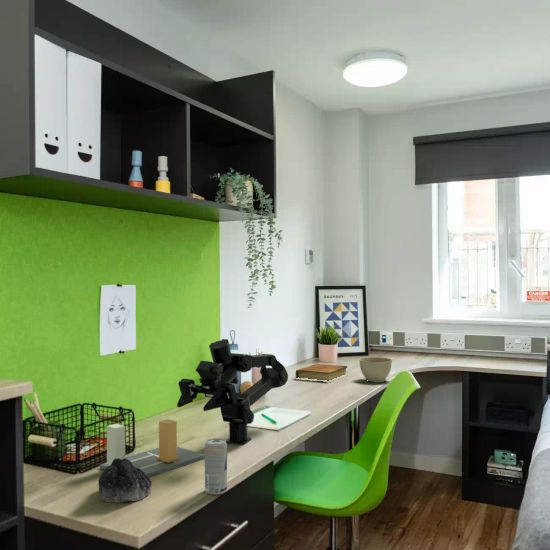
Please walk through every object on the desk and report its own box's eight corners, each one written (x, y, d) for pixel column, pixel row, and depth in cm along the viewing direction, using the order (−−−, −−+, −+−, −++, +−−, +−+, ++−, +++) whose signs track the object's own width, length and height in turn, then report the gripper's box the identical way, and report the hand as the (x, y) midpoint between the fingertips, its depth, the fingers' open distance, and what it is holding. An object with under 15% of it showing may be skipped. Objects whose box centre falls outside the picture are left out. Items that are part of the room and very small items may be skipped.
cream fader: (117, 461, 155) (117, 423, 155) (127, 465, 151) (127, 425, 152) (104, 465, 151) (104, 426, 152) (114, 468, 148) (114, 429, 148)
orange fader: (168, 455, 159) (167, 418, 159) (179, 459, 156) (178, 421, 156) (156, 459, 156) (156, 421, 156) (167, 462, 153) (167, 424, 153)
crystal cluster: (138, 483, 144) (133, 444, 144) (164, 493, 134) (159, 451, 134) (87, 501, 135) (82, 459, 135) (111, 513, 125) (106, 468, 125)
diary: (315, 374, 306) (315, 363, 306) (347, 377, 296) (347, 366, 296) (295, 380, 286) (295, 369, 286) (329, 383, 276) (329, 372, 276)
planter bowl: (353, 381, 279) (353, 359, 279) (368, 377, 292) (368, 356, 292) (383, 385, 269) (382, 362, 269) (397, 380, 282) (397, 358, 282)
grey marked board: (169, 447, 171) (169, 444, 171) (205, 458, 161) (205, 454, 161) (100, 468, 153) (100, 464, 153) (135, 481, 142) (135, 477, 142)
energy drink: (227, 486, 138) (227, 438, 139) (226, 495, 133) (226, 444, 133) (205, 487, 138) (205, 438, 138) (203, 495, 133) (203, 444, 133)
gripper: (189, 353, 172) (157, 379, 159) (240, 357, 162) (211, 385, 150) (198, 384, 175) (167, 413, 163) (249, 390, 166) (220, 421, 153)
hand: (190, 407), depth 157 cm, fingers open, 9 cm apart
